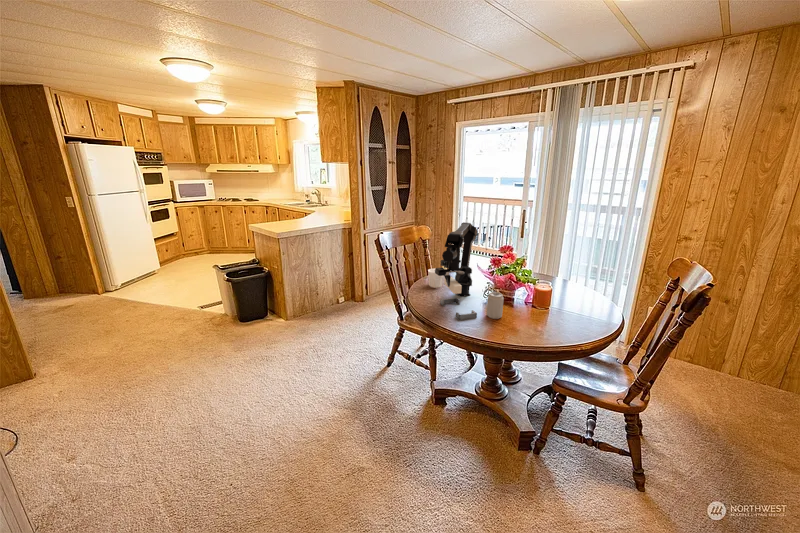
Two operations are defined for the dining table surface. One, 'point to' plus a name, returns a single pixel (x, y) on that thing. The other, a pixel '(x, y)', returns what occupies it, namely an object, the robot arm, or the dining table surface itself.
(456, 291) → the beige wooden bar
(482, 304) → the dining table surface
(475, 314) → the end caps
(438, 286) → the cup
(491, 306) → the can
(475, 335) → the dining table surface
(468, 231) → the robot arm
